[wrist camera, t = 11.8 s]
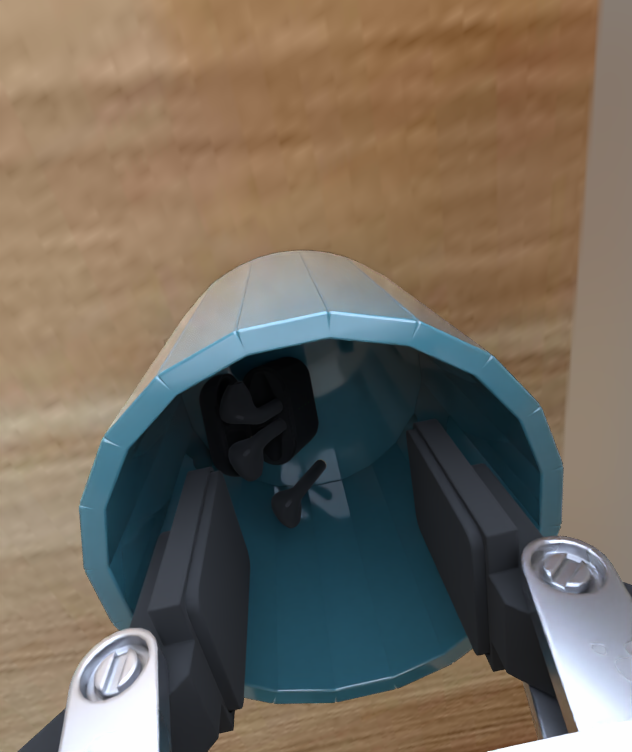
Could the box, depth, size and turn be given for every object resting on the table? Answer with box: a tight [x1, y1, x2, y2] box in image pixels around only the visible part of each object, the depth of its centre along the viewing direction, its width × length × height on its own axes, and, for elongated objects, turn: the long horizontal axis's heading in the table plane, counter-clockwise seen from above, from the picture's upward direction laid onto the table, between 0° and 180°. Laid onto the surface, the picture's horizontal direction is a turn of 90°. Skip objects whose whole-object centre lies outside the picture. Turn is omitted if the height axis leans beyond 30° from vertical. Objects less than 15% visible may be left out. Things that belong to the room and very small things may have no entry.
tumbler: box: [79, 250, 564, 704], centre depth 14 cm, size 10×10×9 cm
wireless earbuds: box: [199, 357, 326, 528], centre depth 15 cm, size 7×2×5 cm, turn 9°
